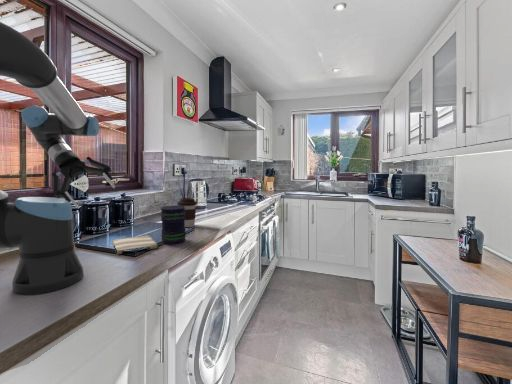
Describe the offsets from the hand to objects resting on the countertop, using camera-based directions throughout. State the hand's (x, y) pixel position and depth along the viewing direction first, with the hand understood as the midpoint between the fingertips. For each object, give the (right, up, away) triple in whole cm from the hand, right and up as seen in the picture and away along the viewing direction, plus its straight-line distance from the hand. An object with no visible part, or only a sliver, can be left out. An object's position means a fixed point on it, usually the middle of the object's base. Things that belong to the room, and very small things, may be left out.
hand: (96, 195), depth 94 cm
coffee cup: (+22, -17, +45) cm, 53 cm away
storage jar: (+23, -20, +16) cm, 35 cm away
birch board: (+9, -20, +10) cm, 24 cm away
